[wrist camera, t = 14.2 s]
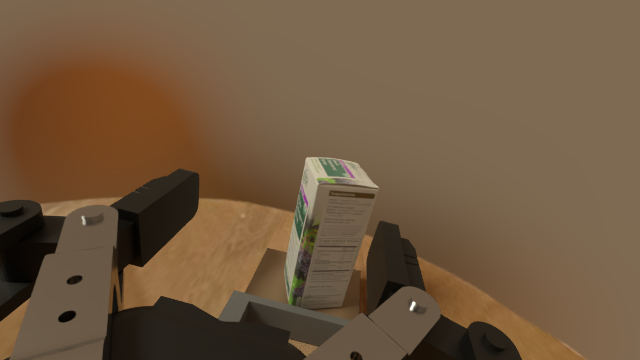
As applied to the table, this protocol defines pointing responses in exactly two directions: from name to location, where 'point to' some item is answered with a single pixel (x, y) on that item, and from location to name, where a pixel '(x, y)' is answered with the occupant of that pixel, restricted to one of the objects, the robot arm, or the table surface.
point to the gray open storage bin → (282, 317)
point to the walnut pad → (273, 286)
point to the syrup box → (327, 231)
